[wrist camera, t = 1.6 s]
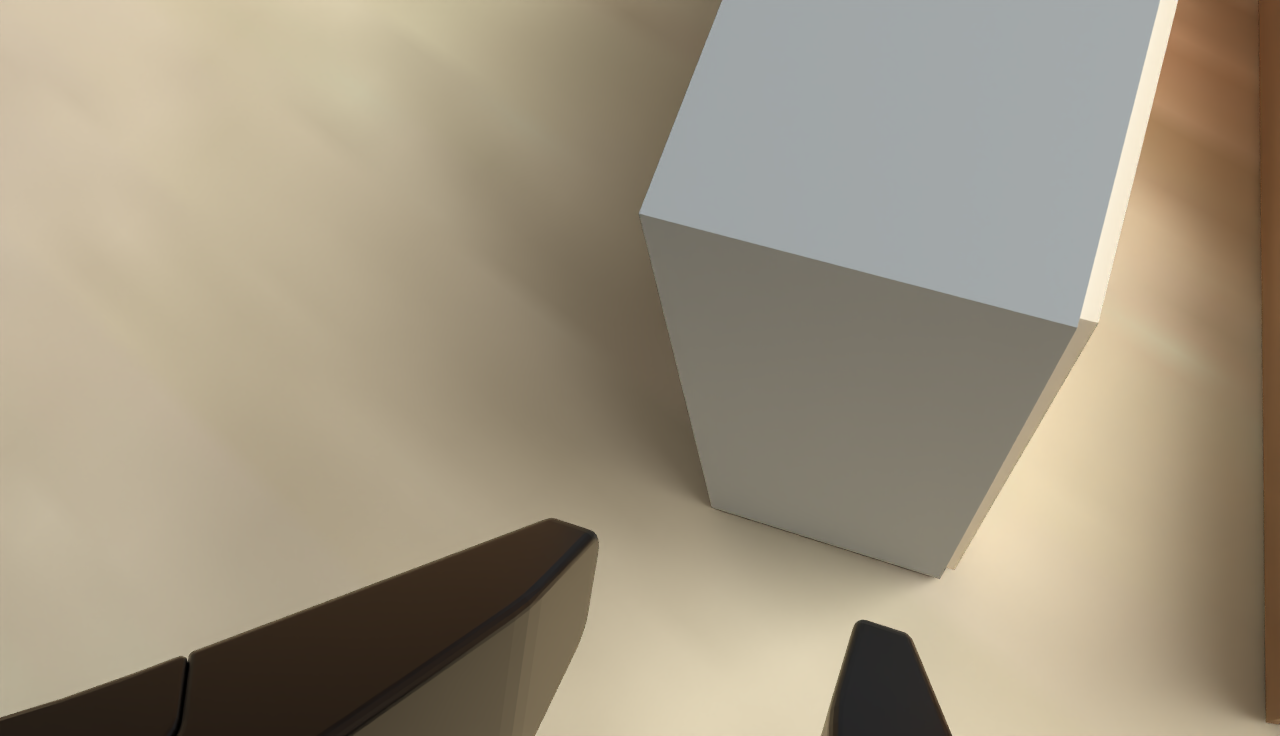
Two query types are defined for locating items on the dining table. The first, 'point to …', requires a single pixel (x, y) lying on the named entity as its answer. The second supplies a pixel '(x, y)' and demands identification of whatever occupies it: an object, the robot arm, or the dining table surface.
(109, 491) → the dining table surface
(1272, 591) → the rail
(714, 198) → the boxed book
